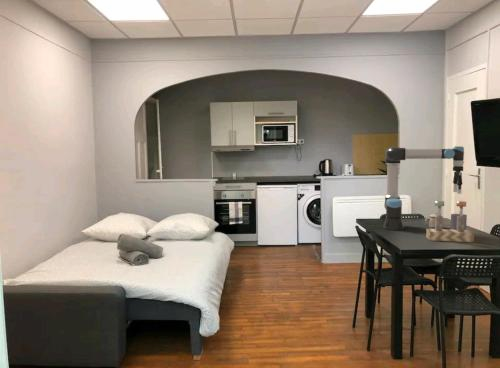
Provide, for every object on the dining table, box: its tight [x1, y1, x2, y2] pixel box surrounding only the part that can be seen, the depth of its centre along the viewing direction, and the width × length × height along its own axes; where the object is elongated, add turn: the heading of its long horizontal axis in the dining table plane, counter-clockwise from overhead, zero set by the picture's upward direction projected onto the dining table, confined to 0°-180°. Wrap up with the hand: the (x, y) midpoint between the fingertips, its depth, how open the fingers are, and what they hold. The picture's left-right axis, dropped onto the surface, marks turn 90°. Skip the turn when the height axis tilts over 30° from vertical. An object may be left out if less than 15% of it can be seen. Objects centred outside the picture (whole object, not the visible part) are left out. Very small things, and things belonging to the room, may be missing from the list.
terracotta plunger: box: [456, 200, 467, 217], centre depth 297 cm, size 6×6×14 cm
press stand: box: [425, 215, 475, 243], centre depth 299 cm, size 28×12×16 cm, turn 78°
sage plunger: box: [434, 200, 445, 217], centre depth 300 cm, size 6×6×14 cm
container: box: [450, 213, 468, 230], centre depth 314 cm, size 10×10×15 cm
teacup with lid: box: [424, 212, 438, 228], centre depth 348 cm, size 12×9×12 cm
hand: (457, 192), depth 342 cm, fingers open, 13 cm apart
